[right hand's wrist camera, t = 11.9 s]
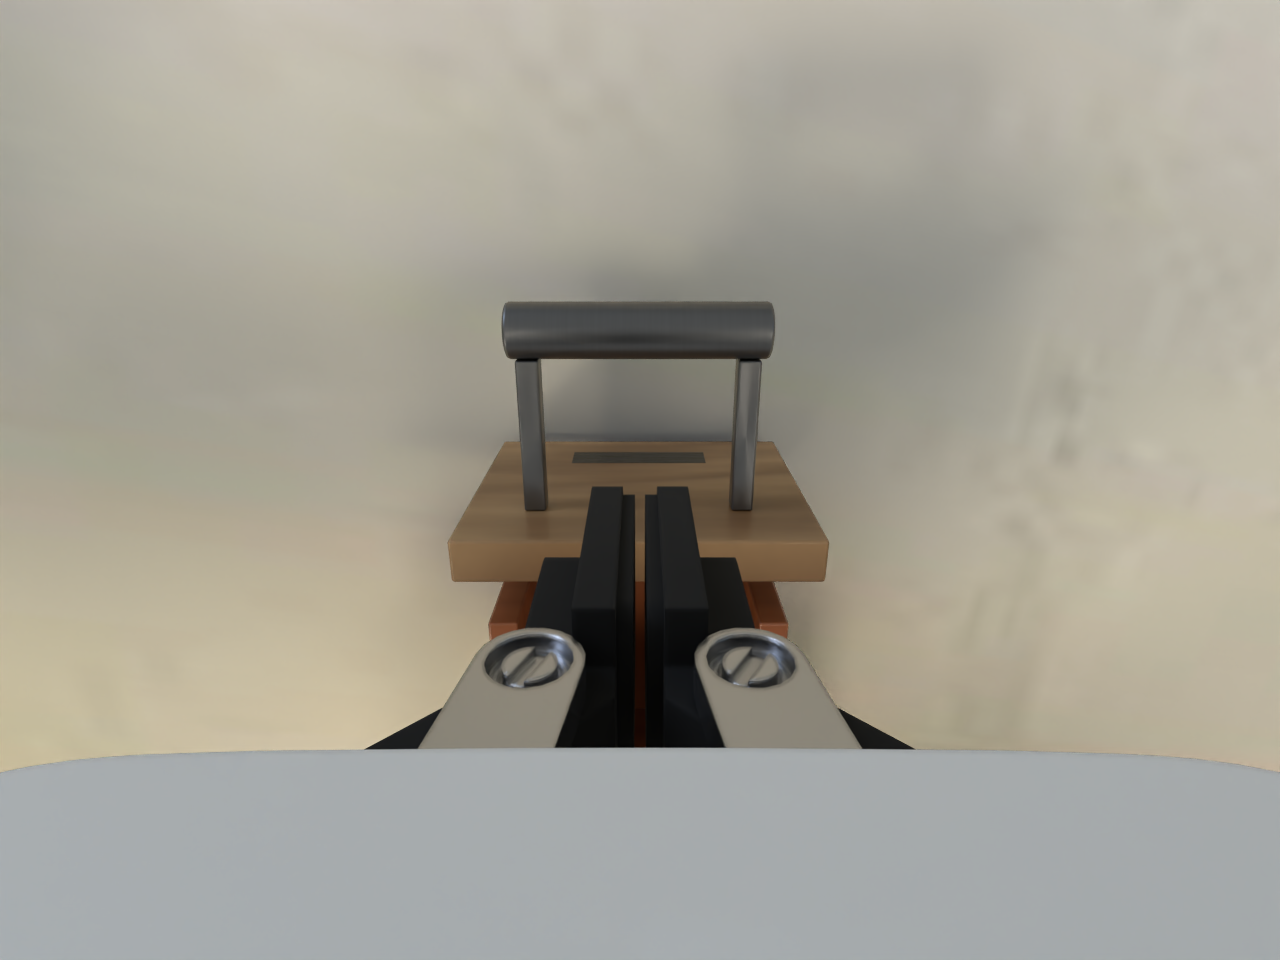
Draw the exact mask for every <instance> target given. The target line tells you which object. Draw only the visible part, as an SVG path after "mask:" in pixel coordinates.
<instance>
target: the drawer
mask: <svg viewBox="0 0 1280 960" xmlns="http://www.w3.org/2000/svg"><path fill="white" fill-rule="evenodd" d="M774 337H775V315H774V309H773V306H772V304H771V303H770V302H507V303H505V305H504V308H503V312H502V340H503V347H504V351H505V353H506V356H507V357H508V358H510V359H517V360H516V361H515V373H516V387H517V402H518V417H519V432H520V442H504V444H503V446H502V448H501V449H500V451H499V453H498V455H497V456H496V458H495V460H494V462H493V463H492V465H491V467H490V469H489V470H488V472H487V474H486V476H485V477H484V479H483V481H482V483H481V484H480V486H479V488H478V490H477V492H476V493H475V495H474V497H473V499H472V500H471V502H470V504H469V506H468V507H467V509H466V511H465V513H464V514H463V516H462V518H461V520H460V521H459V523H458V525H457V527H456V528H455V530H454V532H453V534H452V535H451V537H450V539H449V541H448V550H449V558H450V567H451V576H452V580H453V581H455V582H503V585H502V588H501V591H500V593H499V596H498V599H497V602H496V604H495V607H494V610H493V613H492V615H491V618H490V621H489V624H488V625H489V636H490V641H491V640H492V639H494V638H495V637H497V636H500V635H502V634H505V633H508V632H510V631H514V630H520V629H525V626H526V622H527V618H528V615H529V611H530V607H531V604H532V600H533V596H534V593H535V589H536V585H537V582H538V578H539V574H540V571H541V567H542V563H543V560H544V558H545V557H580V554H581V548H582V542H583V536H584V530H585V524H586V519H587V513H588V507H589V501H590V495H591V489H592V486H623V494H635V734H634V748H646V734H645V494H657V486H688V489H689V495H690V501H691V507H692V513H693V519H694V524H695V530H696V536H697V542H698V548H699V554H700V557H735V558H736V560H737V563H738V567H739V571H740V574H741V578H742V582H743V585H744V589H745V593H746V596H747V600H748V604H749V607H750V611H751V615H752V618H753V622H754V626H755V629H760V630H766V631H770V632H772V633H775V634H778V635H780V636H783V637H785V638H786V639H787V635H788V621H787V619H786V616H785V613H784V610H783V607H782V605H781V602H780V599H779V596H778V593H777V590H776V588H775V585H774V582H822V581H824V580H825V575H826V566H827V557H828V549H829V541H828V539H827V537H826V535H825V534H824V532H823V530H822V528H821V526H820V525H819V523H818V521H817V519H816V518H815V516H814V514H813V512H812V510H811V509H810V507H809V505H808V503H807V502H806V500H805V498H804V496H803V494H802V493H801V491H800V489H799V487H798V486H797V484H796V482H795V480H794V478H793V477H792V475H791V473H790V471H789V470H788V468H787V466H786V464H785V462H784V461H783V459H782V457H781V455H780V454H779V452H778V450H777V448H776V446H775V445H774V443H773V442H757V431H758V416H759V400H760V385H761V370H762V362H761V360H760V359H767V358H769V357H770V355H771V353H772V350H773V345H774ZM541 359H736V370H735V390H734V410H733V429H732V442H545V428H544V409H543V391H542V372H541Z"/></svg>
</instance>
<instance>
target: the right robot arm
mask: <svg viewBox="0 0 1280 960" xmlns="http://www.w3.org/2000/svg"><path fill="white" fill-rule="evenodd" d="M634 734H635V494H623V486H592V489H591V495H590V501H589V507H588V513H587V519H586V524H585V530H584V536H583V542H582V548H581V554H580V557H545V558H544V560H543V563H542V567H541V571H540V574H539V578H538V582H537V585H536V589H535V593H534V596H533V600H532V604H531V607H530V611H529V615H528V618H527V622H526V626H525V629H520V630H514V631H510V632H508V633H505V634H502V635H500V636H497V637H495V638H494V639H492V640H491V641H489V642H488V643H486V644H484V646H483V647H482V648H481V649H480V650H479V651H478V652H477V653H476V655H475V656H474V658H473V660H472V661H471V663H470V664H469V666H468V668H467V669H466V671H465V673H464V674H463V676H462V677H461V679H460V681H459V682H458V684H457V686H456V687H455V689H454V690H453V692H452V694H451V695H450V697H449V699H448V700H447V702H446V703H445V705H444V707H443V708H441V709H439V710H437V711H436V712H434V713H432V714H430V715H428V716H426V717H424V718H422V719H421V720H419V721H417V722H415V723H413V724H411V725H409V726H407V727H406V728H404V729H402V730H400V731H398V732H396V733H394V734H392V735H391V736H389V737H387V738H385V739H383V740H381V741H379V742H377V743H376V744H374V745H372V746H370V747H368V748H366V749H364V750H288V751H239V752H208V753H177V754H146V755H125V756H113V757H102V758H90V759H79V760H70V761H63V762H56V763H50V764H43V765H36V766H30V767H25V768H20V769H15V770H10V771H5V772H0V960H1280V772H1275V771H1270V770H1265V769H1260V768H1254V767H1249V766H1244V765H1238V764H1231V763H1224V762H1217V761H1209V760H1200V759H1191V758H1179V757H1168V756H1155V755H1134V754H1108V753H1073V752H1037V751H1001V750H916V749H914V748H912V747H910V746H908V745H906V744H904V743H903V742H901V741H899V740H897V739H895V738H893V737H891V736H889V735H888V734H886V733H884V732H882V731H880V730H878V729H876V728H874V727H873V726H871V725H869V724H867V723H865V722H863V721H861V720H859V719H858V718H856V717H854V716H852V715H850V714H848V713H846V712H844V711H843V710H841V709H839V708H837V707H836V705H835V703H834V702H833V700H832V699H831V697H830V695H829V694H828V692H827V690H826V689H825V687H824V686H823V684H822V682H821V681H820V679H819V677H818V676H817V674H816V673H815V671H814V669H813V668H812V666H811V664H810V663H809V661H808V660H807V658H806V656H805V655H804V653H803V652H802V651H801V650H800V649H799V648H798V647H797V646H796V644H794V643H792V642H791V641H789V640H788V639H786V638H785V637H783V636H780V635H778V634H775V633H772V632H770V631H766V630H760V629H755V626H754V622H753V618H752V615H751V611H750V607H749V604H748V600H747V596H746V593H745V589H744V585H743V582H742V578H741V574H740V571H739V567H738V563H737V560H736V558H735V557H700V554H699V548H698V542H697V536H696V530H695V524H694V519H693V513H692V507H691V501H690V495H689V489H688V486H657V494H645V734H646V748H634Z"/></svg>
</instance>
